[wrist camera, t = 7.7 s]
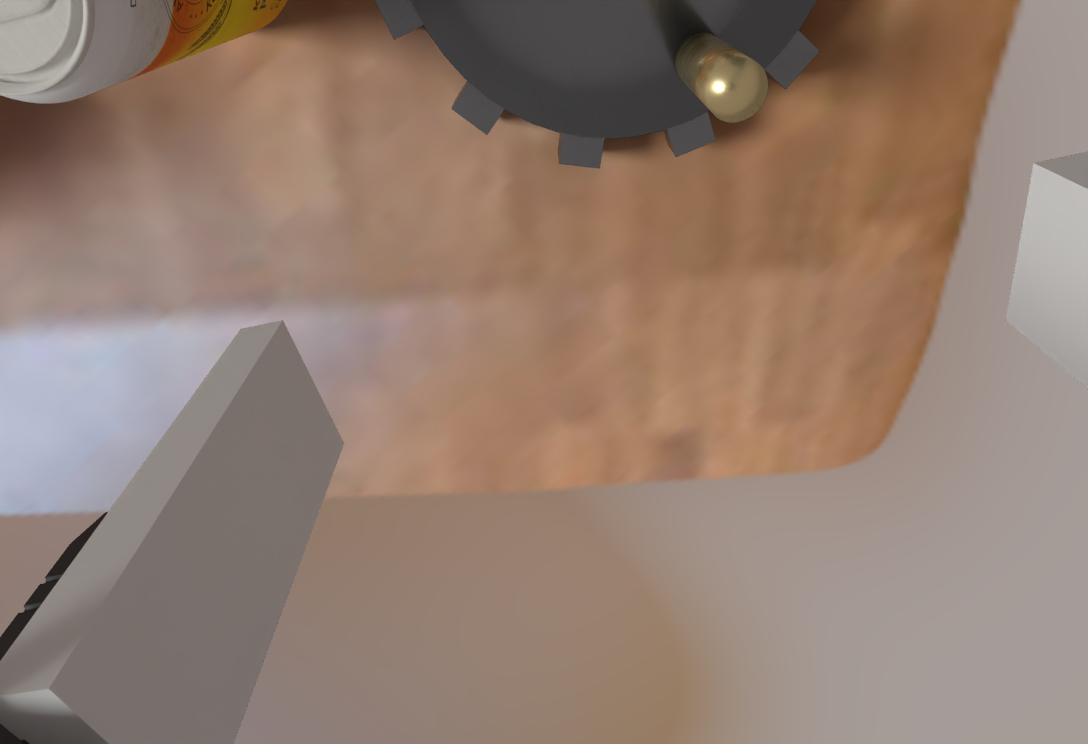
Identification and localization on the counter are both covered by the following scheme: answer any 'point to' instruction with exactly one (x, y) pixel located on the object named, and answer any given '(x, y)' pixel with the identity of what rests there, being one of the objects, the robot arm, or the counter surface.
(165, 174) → the counter surface
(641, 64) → the sprocket
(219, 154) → the counter surface
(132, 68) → the beer can
